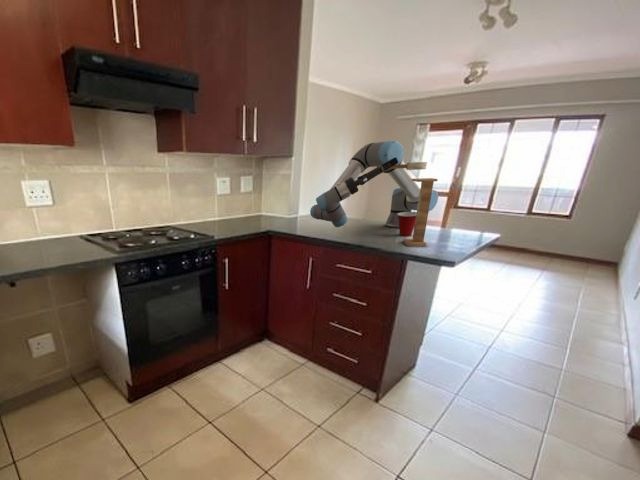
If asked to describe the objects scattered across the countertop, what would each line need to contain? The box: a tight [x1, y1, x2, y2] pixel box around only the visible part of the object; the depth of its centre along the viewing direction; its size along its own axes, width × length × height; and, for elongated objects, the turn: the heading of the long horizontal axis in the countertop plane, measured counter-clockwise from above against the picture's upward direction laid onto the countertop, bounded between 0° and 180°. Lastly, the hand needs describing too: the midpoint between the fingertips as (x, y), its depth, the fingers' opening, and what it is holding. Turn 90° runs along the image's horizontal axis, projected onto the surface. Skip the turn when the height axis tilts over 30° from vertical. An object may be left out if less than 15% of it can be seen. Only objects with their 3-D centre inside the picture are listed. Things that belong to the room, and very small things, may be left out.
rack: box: [402, 177, 439, 247], centre depth 157 cm, size 10×8×30 cm
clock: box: [378, 161, 428, 171], centre depth 152 cm, size 8×20×3 cm, turn 78°
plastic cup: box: [397, 211, 417, 237], centre depth 180 cm, size 11×11×12 cm
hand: (396, 160), depth 151 cm, fingers closed on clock, 2 cm apart
